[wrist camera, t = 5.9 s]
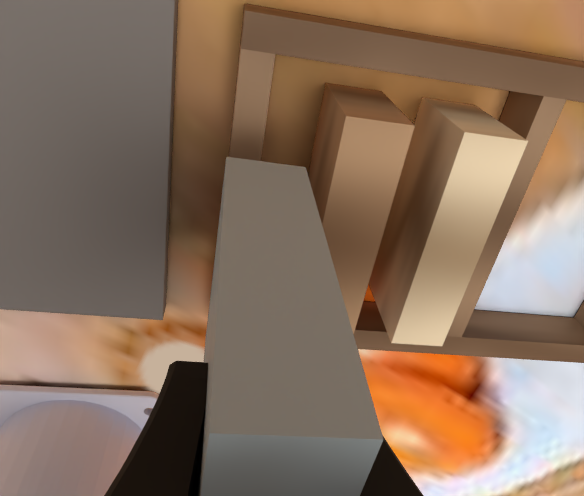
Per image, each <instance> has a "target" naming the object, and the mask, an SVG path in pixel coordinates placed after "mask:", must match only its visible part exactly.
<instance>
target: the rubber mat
mask: <svg viewBox="0 0 584 496" xmlns="http://www.w3.org/2000/svg"><path fill="white" fill-rule="evenodd" d="M177 18H178V0H0V309H6V310H21V311H35V312H50V313H65V314H80V315H95V316H110V317H125V318H140V319H154V320H163V316H164V312H165V307H166V290H167V265H168V240H169V216H170V191H171V166H172V142H173V117H174V92H175V68H176V43H177Z"/></svg>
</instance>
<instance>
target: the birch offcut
mask: <svg viewBox="0 0 584 496" xmlns="http://www.w3.org/2000/svg"><path fill="white" fill-rule="evenodd" d="M414 125H415V127H414V131H413V134H412V137H411V141H410V144H409V148H408V151H407V154H406V158H405V161H404V165H403V168H402V171H401V175H400V178H399V182H398V185H397V188H396V192H395V195H394V199H393V202H392V205H391V209H390V212H389V216H388V219H387V222H386V226H385V229H384V233H383V236H382V239H381V243H380V246H379V250H378V253H377V256H376V260H375V263H374V267H373V270H372V273H371V277H370V280H369V286H370V289H371V291H372V294H373V297H374V299H375V302H376V304H377V307H378V310H379V312H380V315H381V317H382V320H383V323H384V325H385V328H386V331H387V333H388V336H389V338H390V341H391V343H398V344H413V345H429V346H443V343H444V341H445V338H446V336H447V334H448V331H449V329H450V327H451V324H452V322H453V319H454V317H455V315H456V312H457V310H458V307H459V305H460V303H461V300H462V298H463V296H464V293H465V291H466V288H467V286H468V284H469V281H470V279H471V276H472V274H473V272H474V269H475V267H476V265H477V262H478V260H479V257H480V255H481V253H482V250H483V248H484V245H485V243H486V241H487V238H488V236H489V234H490V231H491V229H492V226H493V224H494V222H495V219H496V217H497V214H498V212H499V210H500V207H501V205H502V203H503V200H504V198H505V195H506V193H507V191H508V188H509V186H510V183H511V181H512V179H513V176H514V174H515V172H516V169H517V167H518V164H519V162H520V160H521V157H522V155H523V152H524V150H525V148H526V145H527V143H528V141H527V140H526V139H525V138H523V137H522V136H520V135H519V134H517V133H516V132H514V131H513V130H511V129H510V128H508V127H507V126H505V125H504V124H502V123H501V122H499V121H498V120H496V119H495V118H493V117H492V116H490V115H489V114H487V113H486V112H484V111H483V110H481V109H480V108H478V107H477V106H475V105H471V104H464V103H458V102H451V101H444V100H438V99H431V98H424V97H422V100H421V103H420V106H419V110H418V113H417V117H416V120H415V123H414Z"/></svg>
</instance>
